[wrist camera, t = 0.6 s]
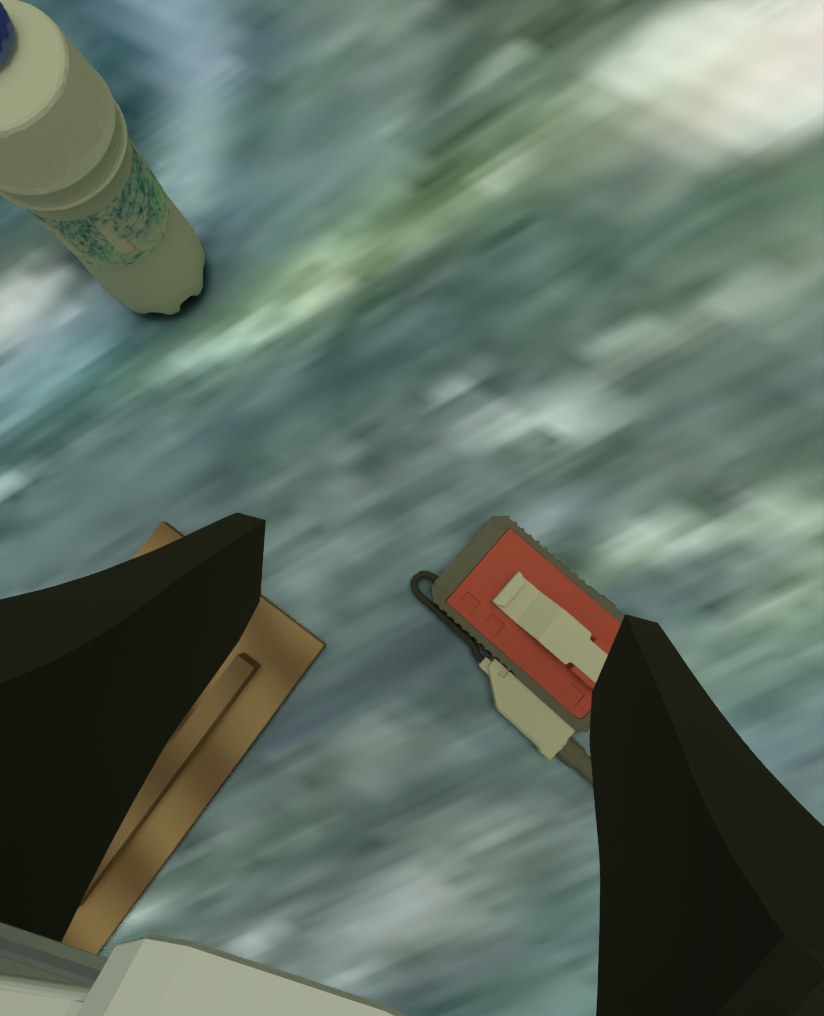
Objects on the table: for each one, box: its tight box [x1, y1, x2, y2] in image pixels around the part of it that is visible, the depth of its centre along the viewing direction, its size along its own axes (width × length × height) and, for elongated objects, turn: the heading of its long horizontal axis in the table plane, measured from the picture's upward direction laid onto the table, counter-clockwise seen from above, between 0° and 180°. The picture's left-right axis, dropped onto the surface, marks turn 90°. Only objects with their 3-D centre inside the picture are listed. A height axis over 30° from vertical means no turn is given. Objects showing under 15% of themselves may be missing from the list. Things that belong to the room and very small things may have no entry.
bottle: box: [0, 0, 205, 315], centre depth 31 cm, size 7×7×20 cm
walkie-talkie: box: [411, 516, 625, 785], centre depth 36 cm, size 9×4×20 cm
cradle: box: [61, 522, 326, 955], centre depth 36 cm, size 30×12×2 cm, turn 143°
